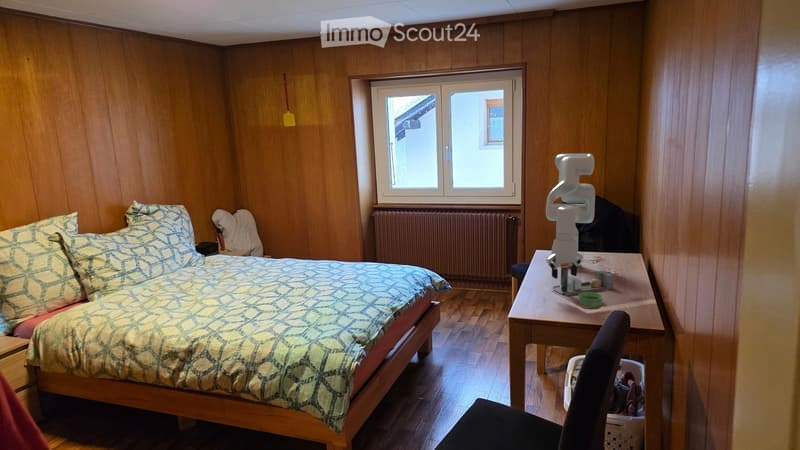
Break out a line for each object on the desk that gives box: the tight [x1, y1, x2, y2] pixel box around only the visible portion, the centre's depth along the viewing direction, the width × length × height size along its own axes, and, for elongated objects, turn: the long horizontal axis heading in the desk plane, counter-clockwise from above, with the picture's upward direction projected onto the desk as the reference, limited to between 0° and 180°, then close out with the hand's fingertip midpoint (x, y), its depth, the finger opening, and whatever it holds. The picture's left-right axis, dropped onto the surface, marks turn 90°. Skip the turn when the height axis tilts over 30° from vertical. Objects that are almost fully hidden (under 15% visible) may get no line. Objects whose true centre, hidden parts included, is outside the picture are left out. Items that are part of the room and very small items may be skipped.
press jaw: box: [552, 264, 583, 295], centre depth 209 cm, size 7×9×12 cm
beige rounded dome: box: [590, 278, 601, 288], centre depth 213 cm, size 4×4×3 cm
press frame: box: [551, 269, 618, 301], centre depth 212 cm, size 12×24×8 cm, turn 106°
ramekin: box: [578, 292, 604, 311], centre depth 196 cm, size 9×9×4 cm
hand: (564, 276), depth 208 cm, fingers open, 8 cm apart
